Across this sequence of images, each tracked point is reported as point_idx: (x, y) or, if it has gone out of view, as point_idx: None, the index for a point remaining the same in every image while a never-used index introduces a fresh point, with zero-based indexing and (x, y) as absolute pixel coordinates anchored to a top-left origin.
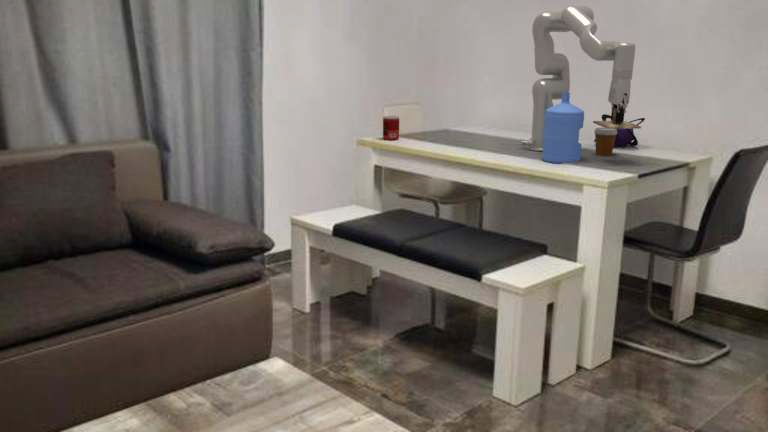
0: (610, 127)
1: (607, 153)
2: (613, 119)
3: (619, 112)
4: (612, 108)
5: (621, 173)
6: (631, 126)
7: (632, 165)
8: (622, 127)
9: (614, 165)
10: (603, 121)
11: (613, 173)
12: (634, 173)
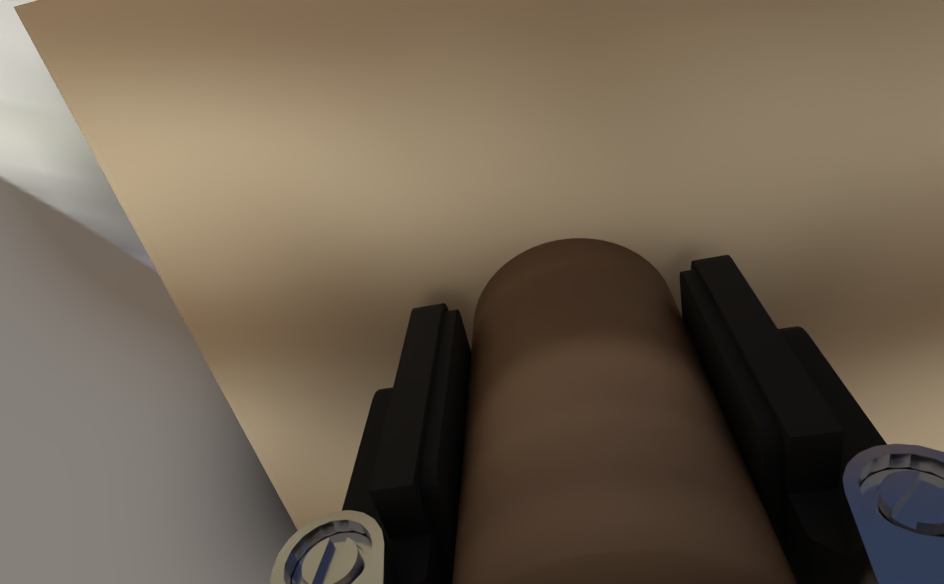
0: (89, 103)
1: None
2: (538, 301)
3: (328, 552)
4: (928, 526)
5: (52, 92)
6: (277, 489)
7: None
8: (214, 346)
9: None
10: (932, 79)
11: (12, 11)
12: (108, 206)
